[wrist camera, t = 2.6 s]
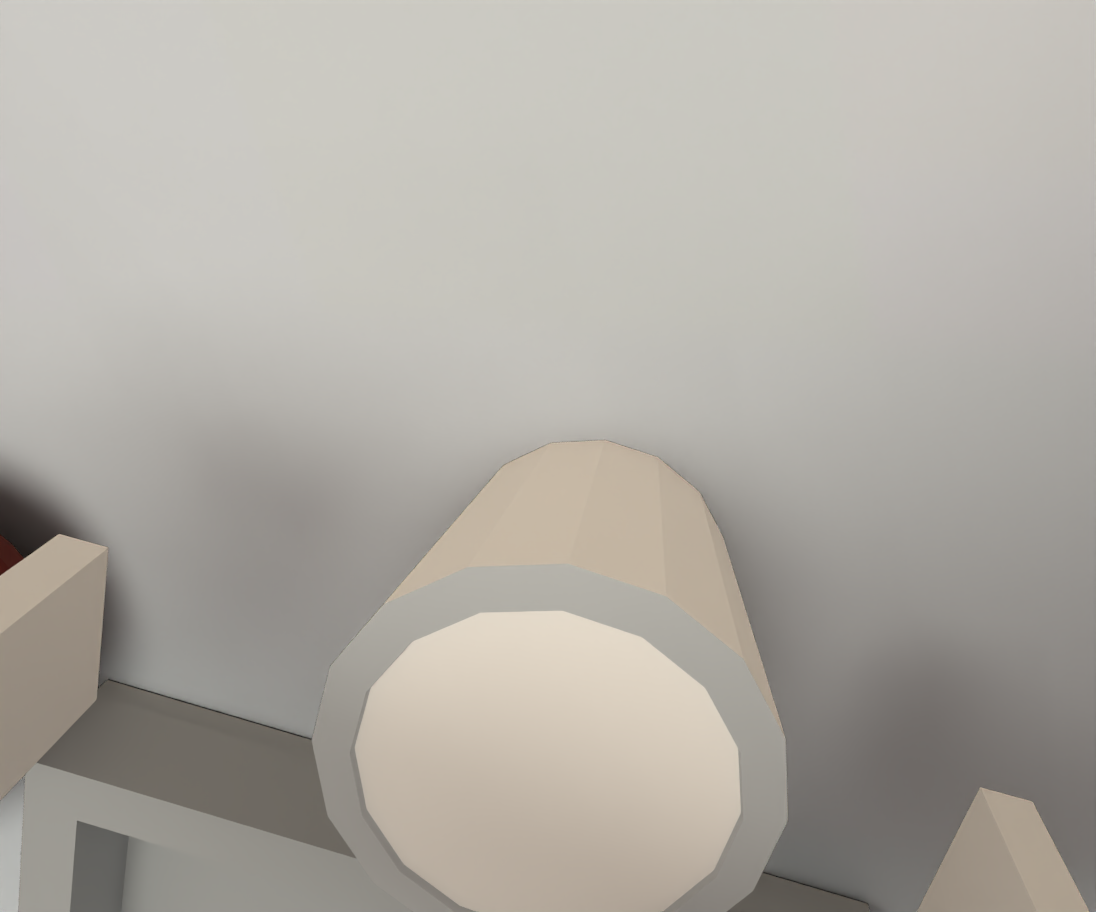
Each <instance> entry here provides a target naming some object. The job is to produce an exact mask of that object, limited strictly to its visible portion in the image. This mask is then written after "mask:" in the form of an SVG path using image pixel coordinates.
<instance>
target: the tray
mask: <svg viewBox="0 0 1096 912" xmlns="http://www.w3.org/2000/svg"><path fill="white" fill-rule="evenodd" d="M18 912H413V911H411V910H410V909H409V908H407V907H406V906H405V905H403V904H402V903H401V902H399V901H398V900H396V899H395V898H394V897H392V896H391V895H390V894H388V893H387V892H386V891H384V890H383V889H381V888H380V887H379V886H377V885H376V884H375V883H373V881H372V880H371V878H370V877H369V875H368V874H367V873H366V871H365V870H364V868H363V867H362V865H361V864H360V862H359V861H358V859H357V858H356V857H355V855H354V854H353V852H352V851H351V849H350V848H349V846H348V845H347V844H346V842H345V841H344V839H343V838H342V836H341V835H340V833H339V832H338V830H337V829H336V828H335V826H334V825H333V823H332V822H331V820H330V819H329V817H328V816H327V811H326V806H325V802H324V797H323V792H322V788H321V783H320V778H319V774H318V769H317V764H316V760H315V755H314V750H313V746H312V741H311V740H310V739H307V738H303V737H300V736H296V735H293V734H290V733H286V732H283V731H279V730H276V729H273V728H269V727H266V726H262V725H259V724H256V723H252V722H249V721H245V720H242V719H239V718H235V717H232V716H228V715H225V714H222V713H218V712H215V711H211V710H208V709H205V708H201V707H198V706H194V705H191V704H188V703H184V702H181V701H178V700H174V699H171V698H167V697H164V696H161V695H157V694H154V693H150V692H147V691H144V690H140V689H137V688H133V687H130V686H127V685H123V684H120V683H116V682H113V681H110V680H107V681H106V682H105V683H104V684H102V685H101V686H100V687H99V688H98V689H97V700H96V701H95V702H94V703H93V704H92V705H91V706H90V707H89V708H88V709H87V710H86V711H85V712H84V713H83V714H82V715H81V716H80V718H79V719H78V720H77V721H76V722H75V723H74V724H73V725H72V726H71V727H70V728H69V729H68V730H67V731H66V732H65V733H64V734H63V735H62V736H61V737H60V738H59V740H58V741H57V742H56V743H55V744H54V745H53V746H52V747H51V748H50V749H49V750H48V751H47V752H46V753H45V754H44V755H43V756H42V757H41V758H40V759H39V760H38V762H37V763H36V764H35V765H34V766H33V767H32V768H31V769H30V770H29V771H28V772H27V773H26V774H25V786H24V806H23V826H22V846H21V866H20V886H19V906H18ZM727 912H870V911H869V906H868V904H867V903H863V902H860V901H856V900H853V899H850V898H846V897H843V896H840V895H836V894H833V893H829V892H826V891H823V890H819V889H816V888H812V887H809V886H806V885H802V884H799V883H795V882H792V881H789V880H785V879H782V878H778V877H775V876H772V875H768V874H765V873H762V874H761V876H760V878H759V880H758V882H757V884H756V886H755V888H754V890H753V891H752V892H751V893H750V894H748V895H747V896H746V897H745V898H743V899H742V900H741V901H740V902H738V903H737V904H736V905H734V906H733V907H732V908H731V909H729V910H728V911H727Z"/></svg>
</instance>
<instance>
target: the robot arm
mask: <svg viewBox="0 0 1096 912" xmlns="http://www.w3.org/2000/svg"><path fill="white" fill-rule="evenodd" d="M108 549H109V548H108V547H105V546H101V545H97V544H94V543H90V542H87V541H83V540H79V539H76V538H72V537H68V536H65V535H61V534H58V535H57V536H55V537H54V538H53V539H51V540H50V541H48V542H47V543H46V544H44V545H43V546H41V547H40V548H39V549H37V550H36V551H34V552H33V553H31V554H30V555H29V556H27V557H26V558H24V559H23V560H22V561H20V562H19V563H17V564H16V565H15V566H13V567H12V568H10V569H9V570H8V571H6V572H5V573H3V574H2V575H1V576H0V800H1V799H2V798H3V797H4V796H5V795H6V794H7V793H8V792H9V791H10V790H11V789H12V788H13V787H14V786H15V785H16V783H17V782H18V781H19V780H20V779H21V778H22V777H23V776H24V775H25V774H26V773H27V772H28V771H29V770H30V769H31V768H32V767H33V766H34V765H35V764H36V763H37V762H38V760H39V759H40V758H41V757H42V756H43V755H44V754H45V753H46V752H47V751H48V750H49V749H50V748H51V747H52V746H53V745H54V744H55V743H56V742H57V741H58V740H59V738H60V737H61V736H62V735H63V734H64V733H65V732H66V731H67V730H68V729H69V728H70V727H71V726H72V725H73V724H74V723H75V722H76V721H77V720H78V719H79V718H80V716H81V715H82V714H83V713H84V712H85V711H86V710H87V709H88V708H89V707H90V706H91V705H92V704H93V703H94V702H95V701H96V700H97V689H98V676H99V663H100V651H101V638H102V625H103V613H104V600H105V587H106V574H107V562H108ZM917 912H1089V910H1088V908H1087V906H1086V904H1085V902H1084V900H1083V898H1082V896H1081V894H1080V892H1079V890H1078V889H1077V887H1076V885H1075V883H1074V881H1073V879H1072V877H1071V875H1070V873H1069V871H1068V869H1067V867H1066V865H1065V863H1064V862H1063V860H1062V858H1061V856H1060V854H1059V852H1058V850H1057V848H1056V846H1055V844H1054V842H1053V840H1052V838H1051V837H1050V835H1049V833H1048V831H1047V829H1046V827H1045V825H1044V823H1043V821H1042V819H1041V817H1040V815H1039V813H1038V811H1037V810H1036V808H1035V806H1034V804H1033V802H1032V801H1029V800H1025V799H1022V798H1018V797H1014V796H1011V795H1007V794H1003V793H1000V792H996V791H992V790H989V789H985V788H982V787H980V788H979V790H978V792H977V794H976V796H975V798H974V800H973V802H972V804H971V806H970V808H969V810H968V812H967V814H966V816H965V818H964V820H963V822H962V824H961V826H960V828H959V830H958V832H957V834H956V836H955V838H954V840H953V842H952V843H951V845H950V847H949V849H948V851H947V853H946V855H945V857H944V859H943V861H942V863H941V865H940V867H939V869H938V871H937V873H936V875H935V877H934V879H933V881H932V883H931V885H930V887H929V889H928V891H927V893H926V895H925V897H924V899H923V900H922V902H921V904H920V906H919V908H918V910H917Z"/></svg>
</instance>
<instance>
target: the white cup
mask: <svg viewBox="0 0 1096 912" xmlns="http://www.w3.org/2000/svg"><path fill="white" fill-rule="evenodd" d="M311 741H312V746H313V750H314V755H315V760H316V764H317V769H318V774H319V778H320V783H321V788H322V792H323V797H324V802H325V806H326V811H327V816H328V817H329V819H330V820H331V822H332V823H333V825H334V826H335V828H336V829H337V830H338V832H339V833H340V835H341V836H342V838H343V839H344V841H345V842H346V844H347V845H348V846H349V848H350V849H351V851H352V852H353V854H354V855H355V857H356V858H357V859H358V861H359V862H360V864H361V865H362V867H363V868H364V870H365V871H366V873H367V874H368V875H369V877H370V878H371V880H372V881H373V883H375V884H376V885H377V886H379V887H380V888H381V889H383V890H384V891H386V892H387V893H388V894H390V895H391V896H392V897H394V898H395V899H396V900H398V901H399V902H401V903H402V904H403V905H405V906H406V907H407V908H409V909H410V910H411V911H413V912H727V911H728V910H729V909H731V908H732V907H733V906H734V905H736V904H737V903H738V902H740V901H741V900H742V899H743V898H745V897H746V896H747V895H748V894H750V893H751V892H752V891H753V890H754V888H755V886H756V884H757V882H758V880H759V878H760V876H761V874H762V872H763V870H764V868H765V866H766V864H767V862H768V860H769V858H770V856H771V854H772V852H773V850H774V848H775V846H776V844H777V842H778V840H779V838H780V836H781V834H782V832H783V830H784V828H785V826H786V824H787V821H788V805H787V766H786V738H785V735H784V732H783V728H782V725H781V722H780V719H779V716H778V712H777V709H776V706H775V703H774V699H773V696H772V693H771V690H770V687H769V683H768V680H767V677H766V674H765V671H764V667H763V664H762V661H761V658H760V654H759V651H758V648H757V645H756V642H755V638H754V635H753V632H752V629H751V626H750V622H749V619H748V616H747V613H746V609H745V606H744V603H743V600H742V597H741V593H740V590H739V587H738V584H737V581H736V577H735V574H734V571H733V568H732V564H731V561H730V558H729V555H728V552H727V548H726V545H725V542H724V539H723V536H722V534H721V533H720V531H719V529H718V527H717V525H716V523H715V521H714V519H713V517H712V515H711V513H710V511H709V509H708V507H707V505H706V503H705V501H704V500H703V498H702V496H701V494H700V492H699V491H698V490H697V489H695V488H694V487H693V486H692V485H691V484H689V483H688V482H687V481H686V480H685V479H683V478H682V477H681V476H680V475H679V474H677V473H676V472H675V471H674V470H673V469H671V468H670V467H669V466H668V465H667V464H665V463H664V462H663V461H662V460H661V459H659V458H658V457H656V456H653V455H650V454H647V453H643V452H640V451H637V450H634V449H631V448H628V447H625V446H622V445H619V444H616V443H613V442H610V441H607V440H595V441H576V442H558V443H549V444H547V445H545V446H543V447H541V448H539V449H537V450H535V451H532V452H530V453H528V454H526V455H524V456H522V457H520V458H518V459H515V460H513V461H511V462H509V463H507V464H505V465H503V466H502V467H501V469H500V470H499V471H498V472H497V473H496V474H495V475H494V477H493V478H492V479H491V480H490V481H489V482H488V484H487V485H486V486H485V487H484V488H483V489H482V490H481V492H480V493H479V494H478V495H477V496H476V497H475V498H474V500H473V501H472V502H471V503H470V504H469V505H468V506H467V508H466V509H465V510H464V511H463V512H462V513H461V515H460V516H459V517H458V518H457V519H456V520H455V522H454V523H453V524H452V525H451V526H450V527H449V529H448V530H447V531H446V532H445V533H444V534H443V535H442V537H441V538H440V539H439V540H438V541H437V542H436V544H435V545H434V546H433V547H432V548H431V549H430V551H429V552H428V553H427V554H426V555H425V556H424V558H423V559H422V560H421V561H420V562H419V563H418V564H417V566H416V567H415V568H414V569H413V570H412V571H411V573H410V574H409V575H408V576H407V577H406V578H405V580H404V581H403V582H402V583H401V584H400V585H399V586H398V588H397V589H396V590H395V591H394V592H393V593H392V595H391V596H390V597H389V598H388V599H387V600H386V602H385V603H384V604H383V605H382V606H381V607H380V609H379V610H378V611H377V612H376V613H375V614H374V615H373V617H372V618H371V619H370V620H369V621H368V622H367V624H366V625H365V626H364V627H363V628H362V629H361V631H360V632H359V633H358V634H357V635H356V636H355V638H354V639H353V640H352V641H351V642H350V643H349V644H348V646H347V647H346V648H345V649H344V650H343V651H342V653H341V654H340V655H339V656H338V657H337V658H336V660H335V661H334V662H333V663H332V664H331V665H330V668H329V672H328V676H327V680H326V684H325V688H324V692H323V696H322V700H321V704H320V708H319V712H318V716H317V720H316V724H315V728H314V732H313V736H312V740H311Z"/></svg>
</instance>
